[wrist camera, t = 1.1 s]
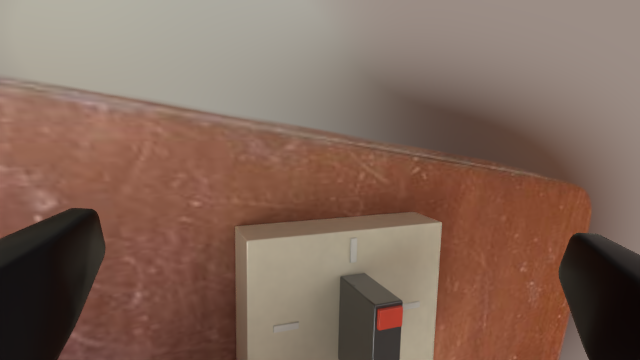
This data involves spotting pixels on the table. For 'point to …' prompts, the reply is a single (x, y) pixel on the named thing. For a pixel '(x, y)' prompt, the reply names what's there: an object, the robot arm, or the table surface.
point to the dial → (368, 320)
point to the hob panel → (331, 282)
